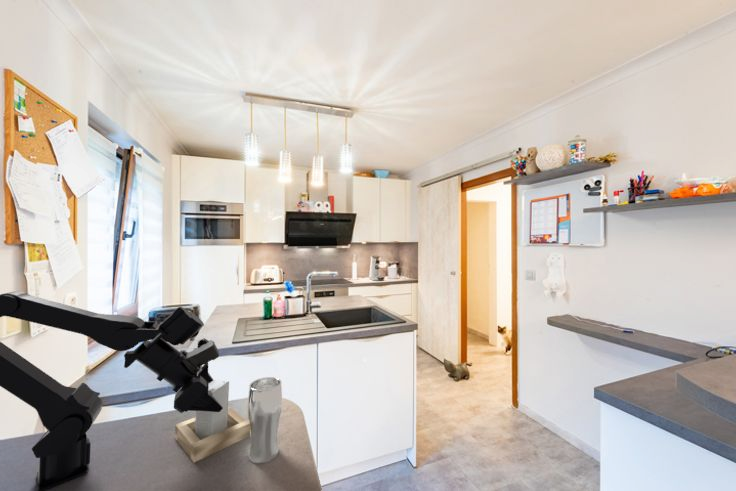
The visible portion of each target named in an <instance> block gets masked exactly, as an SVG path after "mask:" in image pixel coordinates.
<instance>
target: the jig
mask: <svg viewBox="0 0 736 491" xmlns="http://www.w3.org/2000/svg"><path fill="white" fill-rule="evenodd" d="M195 423H196V416H195V417H192V418H190V419H186V420H184V421H182V422H178V423H176V424H175V425H174V426H175V427H174V439H175V440H176V441H177V442H178V444H179V445H180V447H181V448H182V449H183V450H184V451H185V453H186V454H187V456H188V457H189V458H190V459H191V461H192V462H193V463H196V462H198V461H200V460H202V459H203V460H204V459H205V458H208V457H209V456H211V455H213V454H215V453H217V452H219V451H222V450H224V449H226V448H227V447H230V446H232V445H234V444H236V443H239V442H241V441H242V440H244V439H245V440H246V438H249V437H251V431H250V425H249V420H247V419H246V418H244V416H242V415H241V414H239V413H238V412H237V411H236V410H234V409H233V408H232V407H231V406H229V405H228V425H227V429H225V430H223V431H220V432H218V433H216V434H214V435H211V436H209V437H207V438H204V439H202V440H200V439H199V438H198V437H197V436H196V435H195Z"/></svg>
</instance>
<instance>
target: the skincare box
mask: <svg viewBox="0 0 736 491" xmlns="http://www.w3.org/2000/svg"><path fill="white" fill-rule="evenodd" d="M208 385H209V388H208V391H209V393H210V394H211V395H212V396H213V397H214V398H215V399H216V400H217V401H218V402H219V403H220V405H221V406H222V407H223V409H222V410H221V411H220V412H209V411H195V417H196V423H195V435H196V436H197V437H198V438H199V439H200V440H202V439H204V438H207V437H209V436H211V435H214V434H216V433H218V432H220V431H223V430H225V429H227V428H228V426H227V425H228V406H229V396H230V395H229V393H230V381H228V380H223V379H213V381H212V382H210V383H209V384H208Z"/></svg>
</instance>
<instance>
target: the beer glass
mask: <svg viewBox="0 0 736 491" xmlns="http://www.w3.org/2000/svg"><path fill="white" fill-rule="evenodd" d="M248 386H249V388H248V398H247V400H248V401H247V415H248V416H247V417H248V418H247V419H248V422H249V425H250V439H251V440H250V446H249V451H248V459H249V461H250V462H252V463H255V464H265V463H268V462H270V461H272V460H273V459H275V458H276V457H277V456H278V454H279V450H280V449H279V442H278V430H279V424H280V419H281V413H282V406H283V405H282V404H283V391H282V380H281V379H280V378H278V377H274V376H273V377H269V376H268V377H267V376H266V377H261V378H257V379H254V380H253V381H251V383H250V384H249V385H248Z"/></svg>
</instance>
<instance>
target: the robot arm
mask: <svg viewBox="0 0 736 491" xmlns="http://www.w3.org/2000/svg"><path fill="white" fill-rule="evenodd" d="M2 317H9V318H14V319H19V320H20V321H21V320H22V321H24V322H25V321H26V322H30V323H35V324H38V325H43V326H46V327H49V328H55V329H59V330H63V331H68V332H70V333H75V334H80V335H83V336H85V337H88V338H90V339H92V340H93V341H94V342H95V343H97V344H99V345H102V346H103V347H104V346H105V347H106V348H109V349H111V350H112V351H113V350H114V351H118V352H125V351H126V352H125V353H124V355H123V356H124V366H123V368H125V369H128V368H129V367H130V366H131V365H132V364H133V363H134V362H136V361H137V362H138V363H139V364H142V366H144V367H146V368H147V369H149V370H150V371H151V372H153V373H154V374H155V375H157V377H156V380H158V381H159V382H162V380H163V381H165V382H166V383H168V384H170V385H171V386H172V391H173V392H175V396H174V400H173V409H174V410H176V411H177V412H178V413H180V414H182V413H184V412H185V413H187V412H188V411H189V412H192V411H194V412H196V411H209V412H220V411H221V410H222V409H223V407H222V406H221V405H220V403H219V402H218V401H217V400H216V399H215V398H214V397H213V396H212V395H211V394H210V393H209V391H208V388H209V385H208V384H209V383H210V382H212V381H213V380H214V379H213V377H212V376H211V375H210V373H209V362H211V361H214V360H216V359H218V358H219V357H220V351H219V349H218V347H217V345H216V344H215V343H216V342H215V341H214V340H212V339H210V340H208V339H206V338H204V337H203V338H201V339H199V340H197V347H194V348H193V350H191V351H190V352H187V350H185V349H184V350H182V349H181V350H178V349H177V348H175V347H174V346H179V345H185V344H186V343H187V342H188V341H189V340H190V339H191V338H192V337H193V336H194V335H195V334H196V333H198V332H199V330H200V329H201V328H203V326H205V323H204V322H203V320H202V319H201V318H200V317H199V316H197V315H196V314H195V313H194V312H191V311H189V310H188V309H185V308H184V307H182V305H179V306H178V307H177V308H176V309H174V310H173V312H172V313H171V314H170V315H169V316H168V317H167V318H165V319H164V320H163V321H148V320H147V321H146V320H143V319H142V318H140V317H138V316H132V315H122V314H105V313H98V312H95V311H89V310H86V309H82V308H79V307H76V306H72V305H68V304H64V303H60V302H56V301H53V300H50V299H46V298H42V297H39V296H35V295H31V294H29V293H28V292H25V291H20V290H16V291H11V292H10V291H9V292H6V293H1V294H0V318H2ZM140 343H141V344H140ZM138 344H140V345H139V346H137V345H138ZM136 346H137V347H136ZM135 347H136V348H135ZM133 348H134V349H133ZM130 349H133V350H130ZM0 387H1V388H2V389H4V390H5V391H6V392H8V393H10V394H12V395H13V396H15V397H16V398H18V399H19V400H21V401H22V402H24V403H25V404H26V405H29V406H30V407H31V408H33V409H35V411H36V413H37V415H38V417H39V419H40V422H41V424H42V426H43V427H44V428H45V429H46V430H47V431H46V432H44V434H43V435H42V436H41V437H40V438H39V439H38V441H37V442H36V443H35V444H34V445H33V446H32V448H31V450H32V452H33V454H34V457H35V458H36V459H38V469H37V470H38V471H36V484H37V491H41V490H43V491H46V490H47V489H50V488H52V487H54V486H58V485H61V484H63V483H65V482H67V481H69V480H72V479H75V478H77V477H80V476H82V475H85V474H87V473H88V471H89V470H88V465H90V462H91V440H90V438H88V435H87V432H88V431H89V430H90V428H91V427H92V425H93V424H94V422H95V421H96V419H97V418H98V417H99V415H100V413H101V412H102V408H103V401H102V398H101V397H99V396H100V395H101V393H100V392H98V391H94V390H93V389H91V388H90V387H89V386H88V385H87V383H84V382H81V384H79V385H78V387H72V386H71V387H70V386H66V385H63V384H62V383H60V382H59V381H58V380H56V379H55V378H54V377H52V376H50V375H49V374H48V373H46V372H45V371H43V370H42V369H41V368H40V367H39V368H38V366H36V365H34V364H33V363H31V362H30V360H27V359H26V358H24V357H23V356H22V355H20V354H19V353H17V351H15V350H13V349H12V348H10V347H9V346H7V345H6V344H4V343H3V342H2V341H0Z"/></svg>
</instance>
